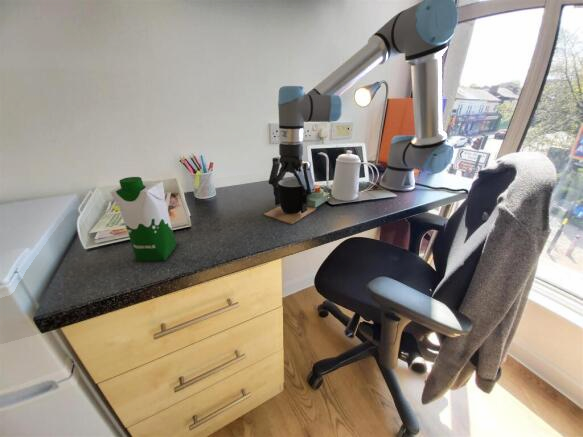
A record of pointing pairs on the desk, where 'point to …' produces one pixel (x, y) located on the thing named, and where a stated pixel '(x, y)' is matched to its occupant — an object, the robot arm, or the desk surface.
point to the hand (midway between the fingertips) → (290, 207)
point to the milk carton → (145, 218)
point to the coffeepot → (346, 176)
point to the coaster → (288, 215)
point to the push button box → (318, 198)
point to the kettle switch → (317, 188)
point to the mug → (290, 195)
